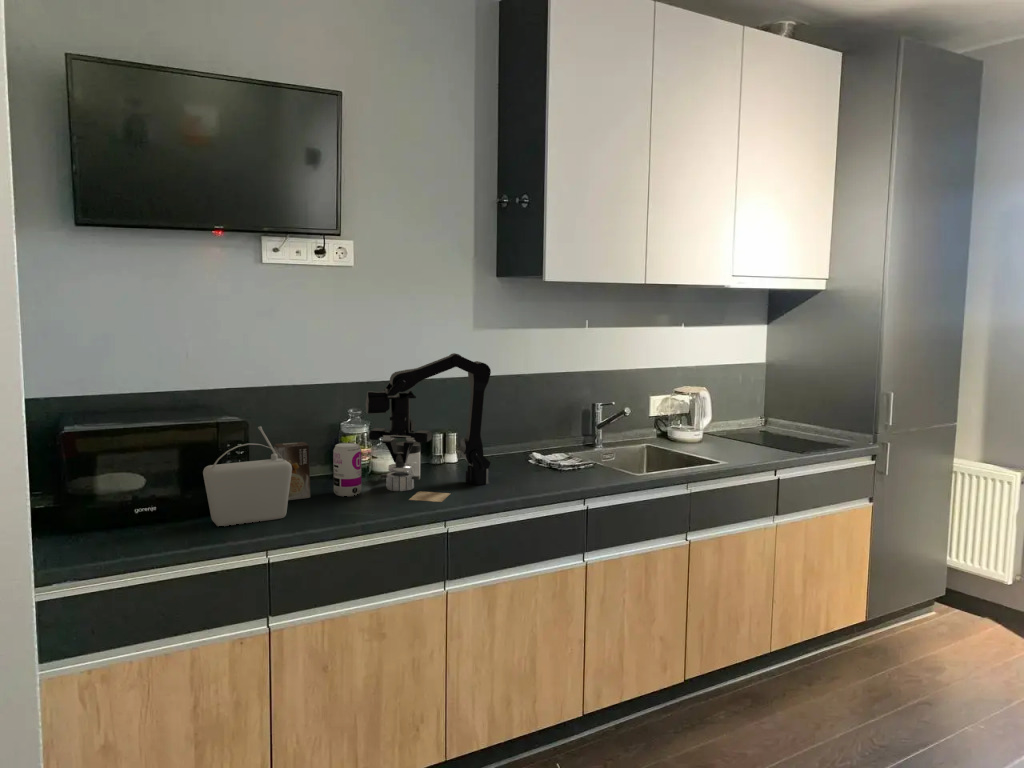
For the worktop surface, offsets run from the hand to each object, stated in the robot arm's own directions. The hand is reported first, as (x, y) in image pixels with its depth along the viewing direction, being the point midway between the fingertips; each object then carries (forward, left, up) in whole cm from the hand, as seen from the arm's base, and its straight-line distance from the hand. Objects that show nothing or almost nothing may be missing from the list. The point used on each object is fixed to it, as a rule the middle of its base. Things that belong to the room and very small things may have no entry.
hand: (400, 462), depth 244 cm
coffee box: (+28, +16, -9) cm, 34 cm away
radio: (+29, +40, -9) cm, 50 cm away
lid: (0, 0, -2) cm, 2 cm away
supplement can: (+14, +8, -9) cm, 18 cm away
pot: (0, 0, -9) cm, 9 cm away
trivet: (-12, +8, -9) cm, 17 cm away
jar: (+2, -14, -9) cm, 17 cm away
